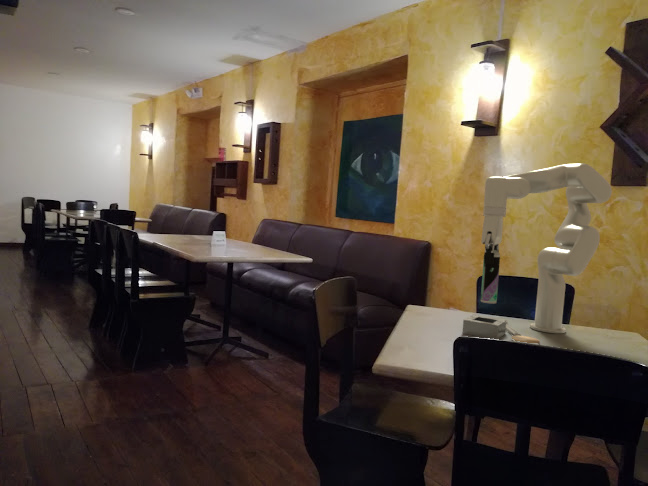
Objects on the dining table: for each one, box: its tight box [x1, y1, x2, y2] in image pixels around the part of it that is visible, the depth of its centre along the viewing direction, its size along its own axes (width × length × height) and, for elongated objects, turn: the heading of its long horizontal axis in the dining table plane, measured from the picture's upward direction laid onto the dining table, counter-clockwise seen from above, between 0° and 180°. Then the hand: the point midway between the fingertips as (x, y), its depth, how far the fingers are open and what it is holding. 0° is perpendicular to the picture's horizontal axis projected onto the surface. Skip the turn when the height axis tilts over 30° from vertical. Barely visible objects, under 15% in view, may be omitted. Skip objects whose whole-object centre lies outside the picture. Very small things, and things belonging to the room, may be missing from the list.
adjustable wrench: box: [501, 318, 522, 336], centre depth 190 cm, size 25×6×2 cm, turn 173°
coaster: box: [511, 335, 541, 344], centre depth 173 cm, size 9×9×1 cm
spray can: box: [480, 246, 501, 305], centre depth 179 cm, size 6×6×20 cm
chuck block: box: [462, 314, 508, 340], centre depth 180 cm, size 12×12×5 cm
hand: (491, 262), depth 179 cm, fingers closed on spray can, 5 cm apart
